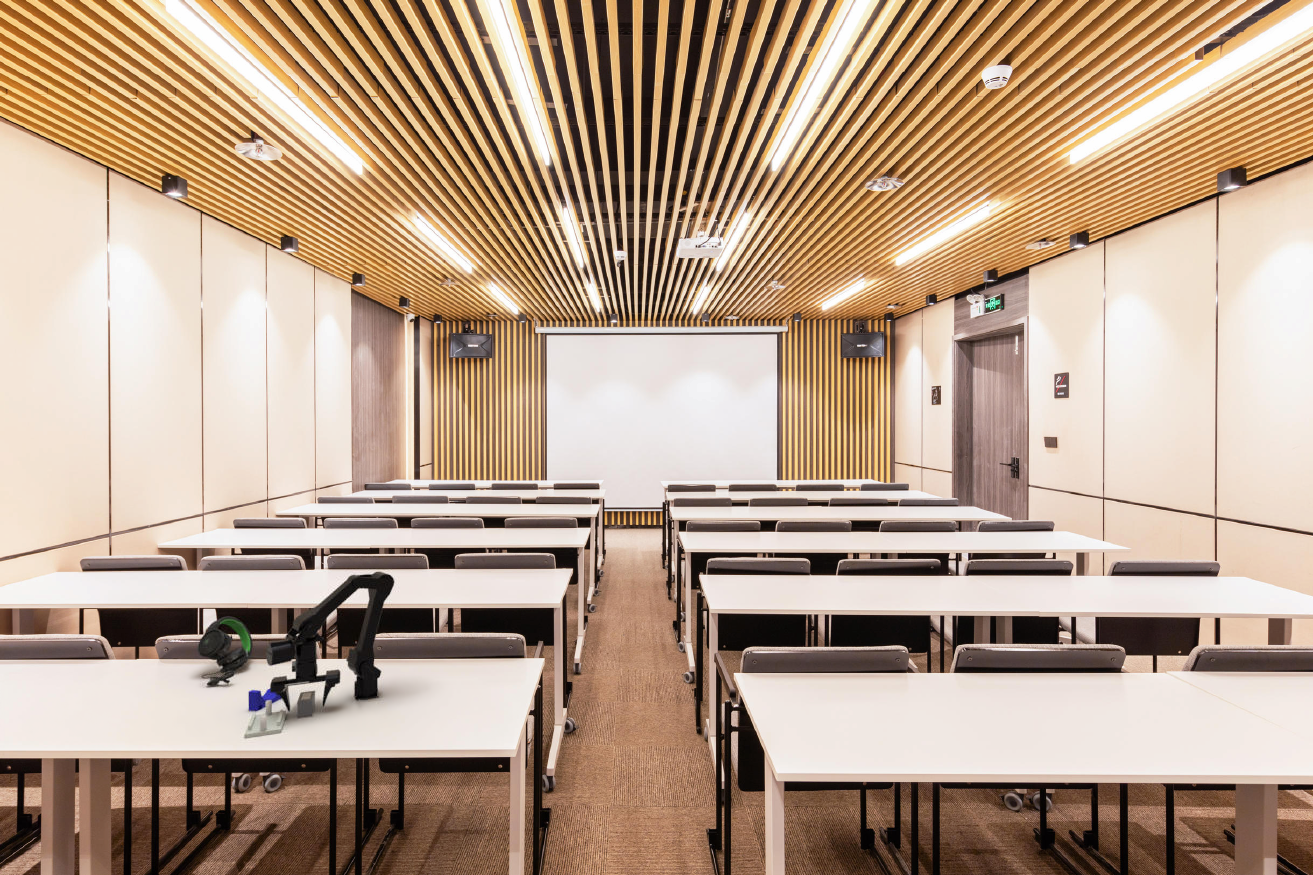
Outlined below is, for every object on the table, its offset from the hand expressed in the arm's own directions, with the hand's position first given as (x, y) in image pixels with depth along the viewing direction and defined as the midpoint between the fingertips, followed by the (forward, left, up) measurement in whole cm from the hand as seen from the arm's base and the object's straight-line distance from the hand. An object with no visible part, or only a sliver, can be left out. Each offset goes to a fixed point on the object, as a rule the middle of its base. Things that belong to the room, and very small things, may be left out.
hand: (306, 708), depth 210 cm
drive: (0, 0, -1) cm, 1 cm away
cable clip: (+12, -13, -2) cm, 18 cm away
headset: (+27, -48, -1) cm, 55 cm away
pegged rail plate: (+10, +6, -1) cm, 12 cm away
